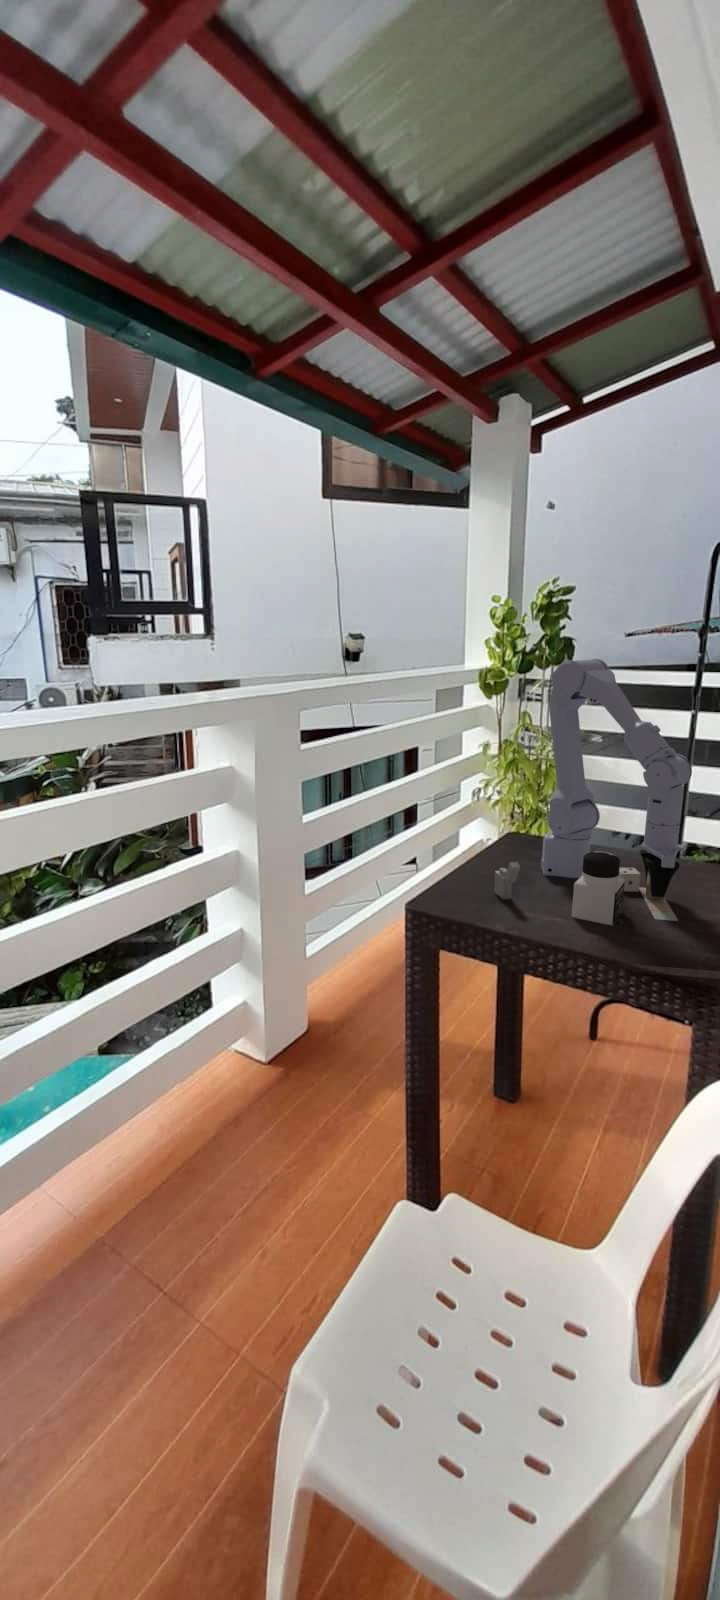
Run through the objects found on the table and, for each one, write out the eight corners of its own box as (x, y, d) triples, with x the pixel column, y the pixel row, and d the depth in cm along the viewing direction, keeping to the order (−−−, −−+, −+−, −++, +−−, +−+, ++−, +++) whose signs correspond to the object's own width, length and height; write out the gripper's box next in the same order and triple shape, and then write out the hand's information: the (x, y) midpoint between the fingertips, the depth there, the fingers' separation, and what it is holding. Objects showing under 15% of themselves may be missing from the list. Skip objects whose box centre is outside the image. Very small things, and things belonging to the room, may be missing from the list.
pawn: (647, 898, 129) (650, 862, 127) (644, 892, 132) (647, 856, 131) (667, 900, 128) (670, 863, 127) (663, 893, 132) (666, 857, 130)
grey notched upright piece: (493, 891, 137) (495, 852, 135) (501, 891, 137) (503, 852, 135) (510, 905, 130) (512, 864, 128) (518, 904, 130) (520, 863, 128)
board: (629, 924, 121) (630, 920, 121) (613, 887, 139) (613, 882, 139) (681, 928, 120) (682, 923, 119) (658, 890, 137) (658, 885, 137)
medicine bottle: (612, 930, 119) (618, 863, 116) (570, 921, 123) (575, 856, 120) (622, 916, 125) (627, 852, 122) (581, 908, 129) (586, 845, 126)
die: (620, 891, 134) (621, 873, 133) (613, 884, 138) (615, 867, 137) (639, 891, 134) (640, 873, 133) (632, 885, 138) (634, 867, 137)
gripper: (696, 834, 119) (688, 908, 122) (676, 812, 133) (669, 880, 136) (653, 832, 121) (645, 905, 124) (637, 811, 134) (631, 877, 138)
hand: (655, 892), depth 130 cm, fingers closed on pawn, 3 cm apart
